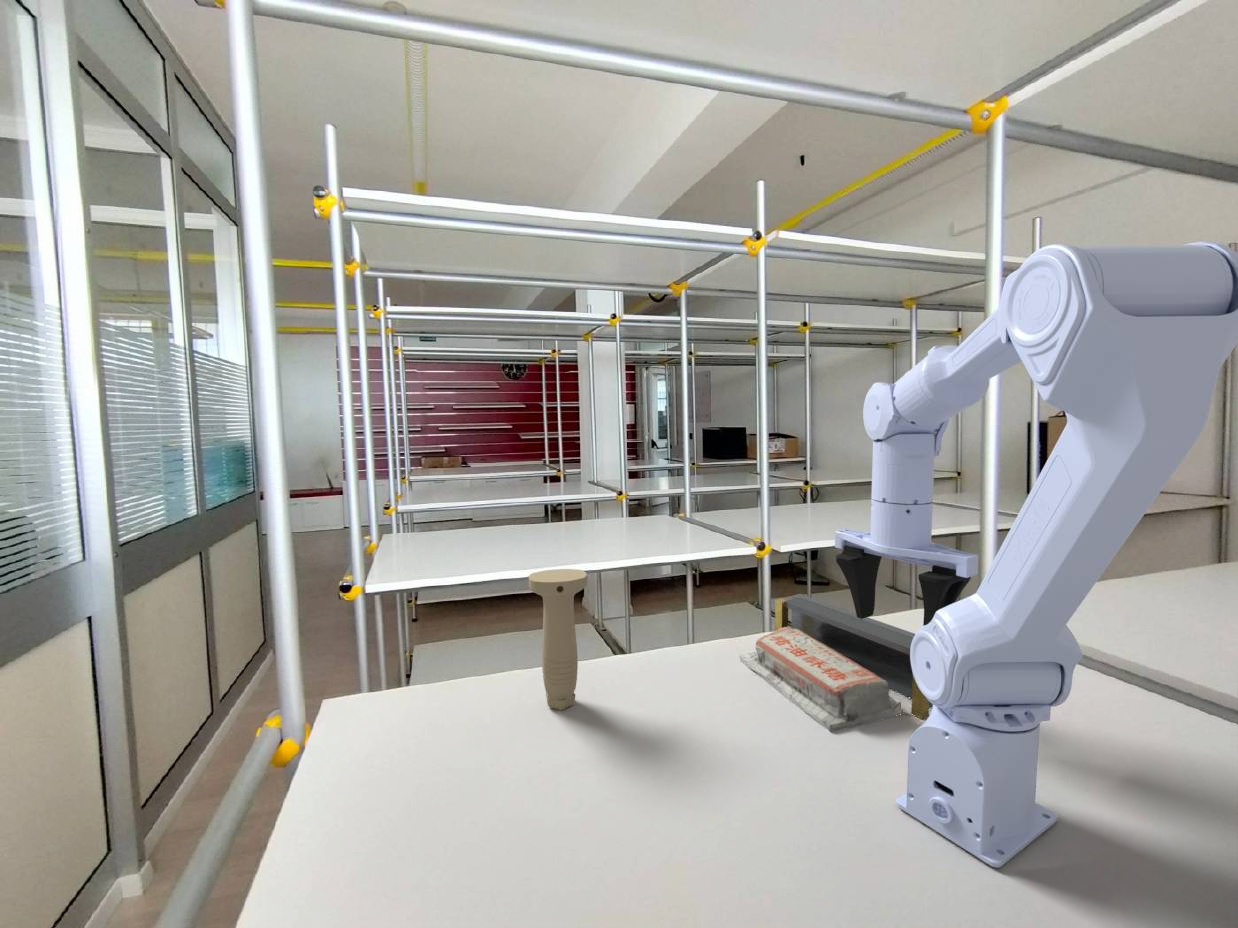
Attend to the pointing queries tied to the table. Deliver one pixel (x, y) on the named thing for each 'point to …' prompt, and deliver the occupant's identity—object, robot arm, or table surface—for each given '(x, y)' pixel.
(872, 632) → the grey long bar
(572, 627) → the handle
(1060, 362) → the robot arm
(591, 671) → the table surface
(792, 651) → the packaged product
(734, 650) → the table surface
